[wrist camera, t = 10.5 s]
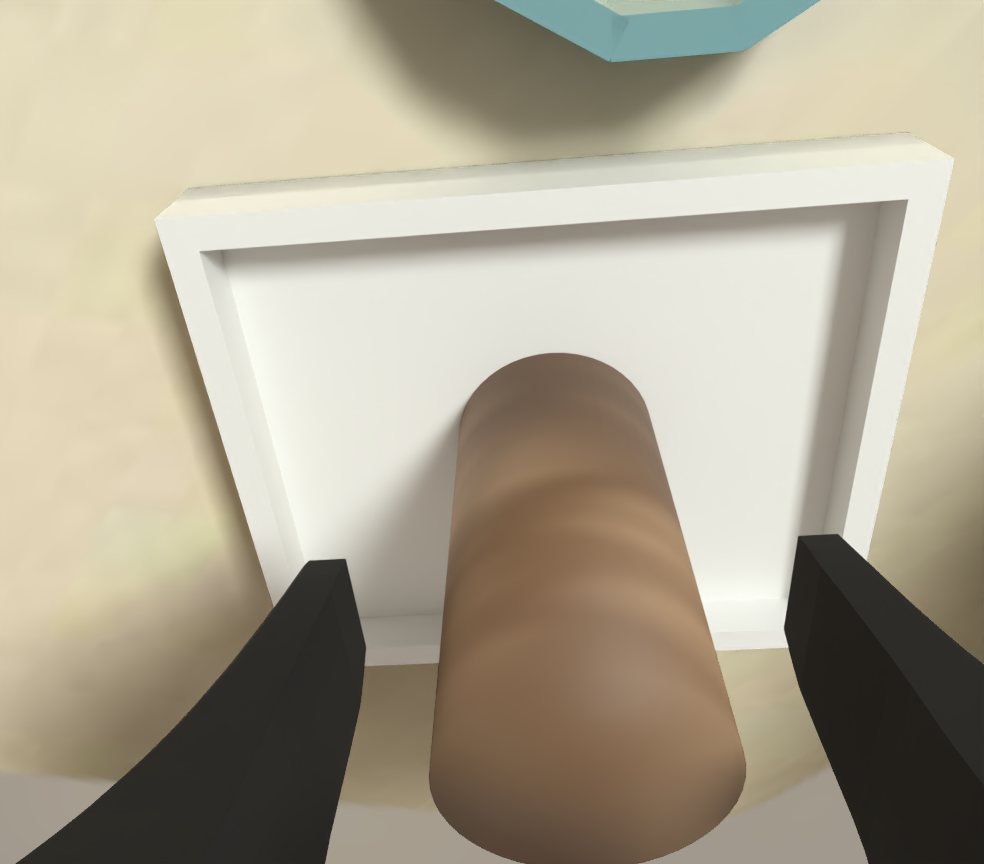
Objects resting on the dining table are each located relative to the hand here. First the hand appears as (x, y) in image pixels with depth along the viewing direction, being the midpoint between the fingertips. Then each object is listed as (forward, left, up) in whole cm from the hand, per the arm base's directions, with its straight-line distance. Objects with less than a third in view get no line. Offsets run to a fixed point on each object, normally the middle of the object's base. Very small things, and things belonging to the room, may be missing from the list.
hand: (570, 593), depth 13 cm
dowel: (0, 0, -5) cm, 5 cm away
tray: (0, 0, -5) cm, 5 cm away
